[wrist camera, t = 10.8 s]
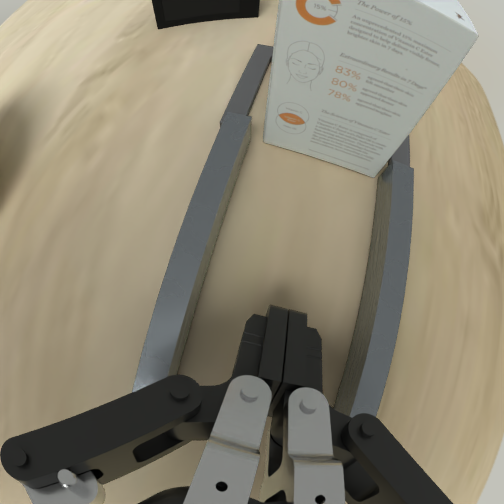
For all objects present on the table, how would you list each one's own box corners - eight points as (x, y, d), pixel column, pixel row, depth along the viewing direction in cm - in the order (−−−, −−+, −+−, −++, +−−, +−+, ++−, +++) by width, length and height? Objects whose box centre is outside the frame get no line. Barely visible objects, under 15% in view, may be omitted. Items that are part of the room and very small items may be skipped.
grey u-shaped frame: (140, 410, 14) (125, 421, 12) (228, 135, 19) (227, 111, 17) (340, 456, 14) (354, 473, 12) (396, 185, 19) (413, 168, 16)
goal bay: (220, 127, 19) (219, 122, 19) (257, 48, 22) (257, 44, 21) (405, 183, 19) (409, 179, 18) (403, 93, 21) (405, 89, 21)
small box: (380, 117, 20) (452, -11, 8) (374, 181, 19) (484, 37, 6) (282, 84, 21) (308, -65, 8) (259, 143, 19) (281, -44, 6)
